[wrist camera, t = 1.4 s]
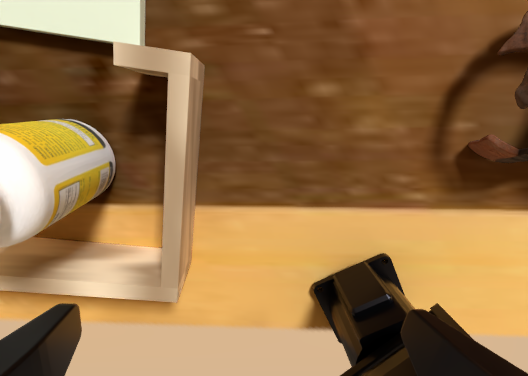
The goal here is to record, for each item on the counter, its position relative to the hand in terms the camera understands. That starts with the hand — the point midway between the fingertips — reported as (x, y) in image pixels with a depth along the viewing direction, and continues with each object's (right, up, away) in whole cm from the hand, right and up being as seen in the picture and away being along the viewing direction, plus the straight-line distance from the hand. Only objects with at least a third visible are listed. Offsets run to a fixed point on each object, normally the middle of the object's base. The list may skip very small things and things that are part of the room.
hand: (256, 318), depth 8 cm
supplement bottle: (-12, +6, +11) cm, 18 cm away
